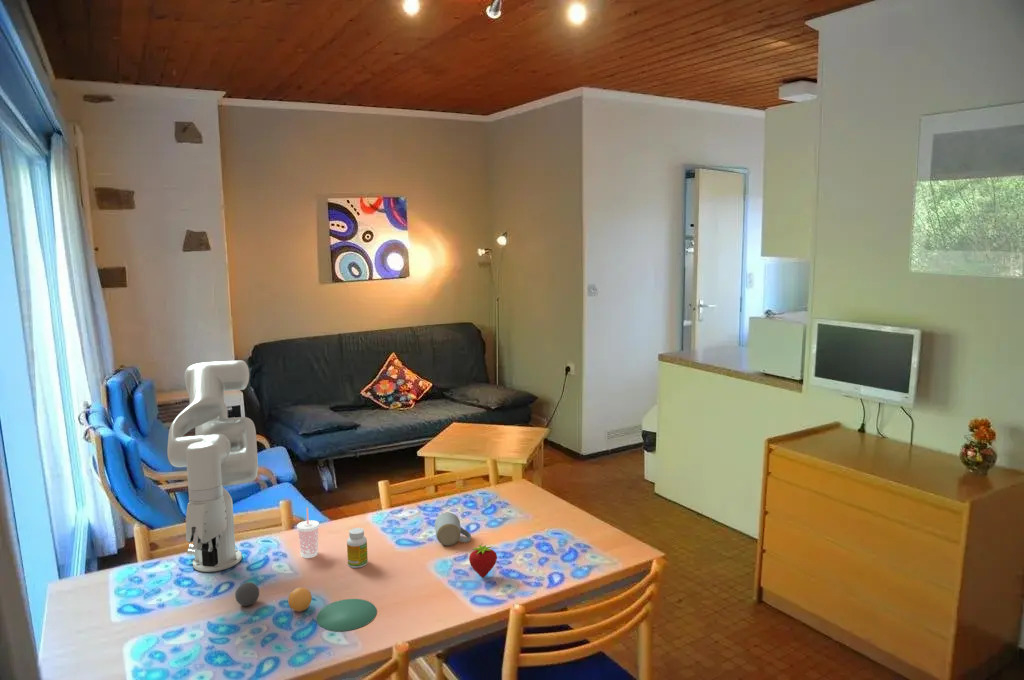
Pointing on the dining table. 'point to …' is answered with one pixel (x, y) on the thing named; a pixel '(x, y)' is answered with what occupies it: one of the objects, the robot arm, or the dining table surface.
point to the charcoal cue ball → (247, 593)
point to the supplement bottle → (357, 548)
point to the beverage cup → (308, 537)
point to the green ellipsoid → (346, 615)
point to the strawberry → (482, 560)
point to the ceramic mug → (450, 529)
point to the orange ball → (299, 599)
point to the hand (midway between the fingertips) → (210, 564)
